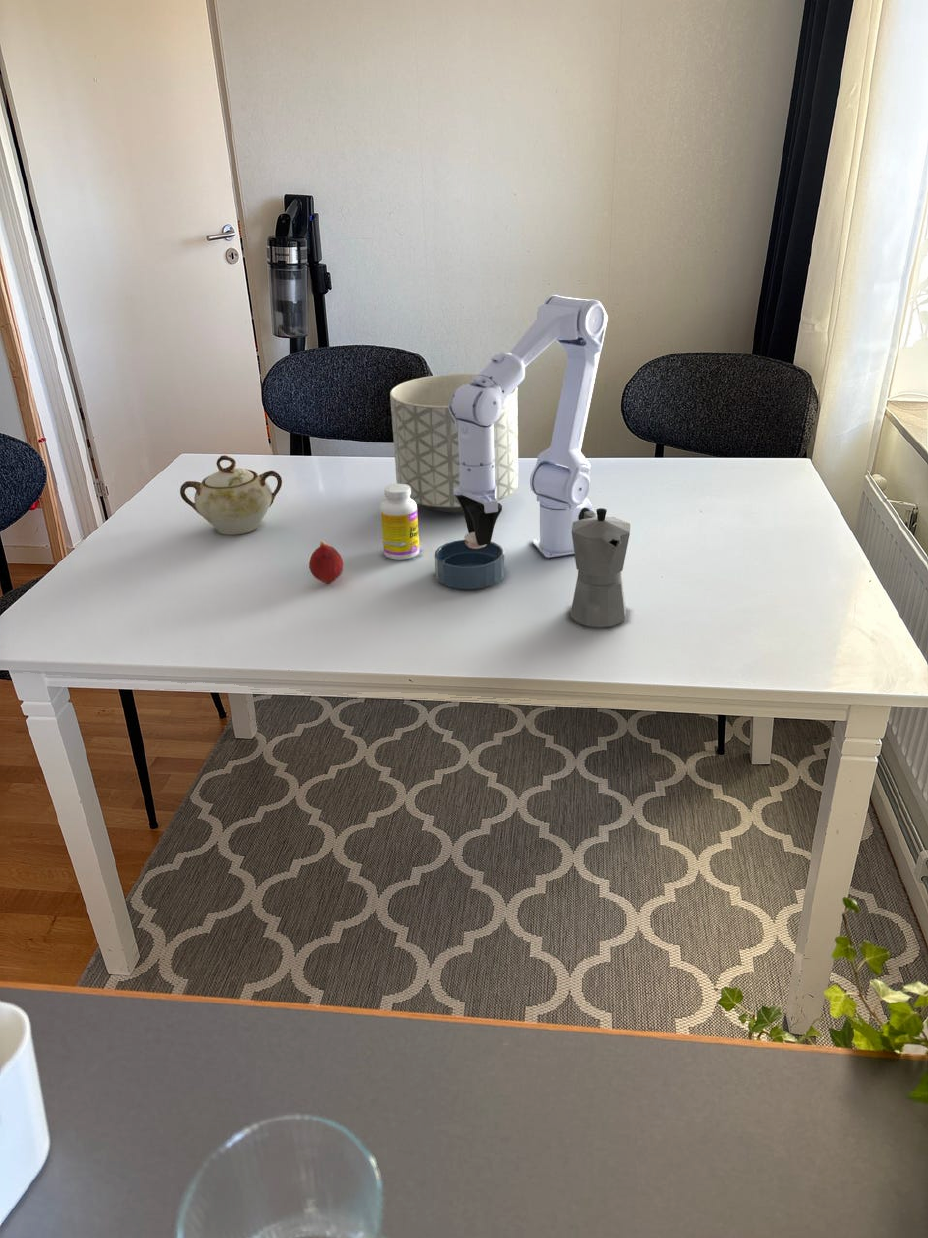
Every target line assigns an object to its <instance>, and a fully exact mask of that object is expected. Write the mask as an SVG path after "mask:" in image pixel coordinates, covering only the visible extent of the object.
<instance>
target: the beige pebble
mask: <svg viewBox="0 0 928 1238" xmlns="http://www.w3.org/2000/svg"><path fill="white" fill-rule="evenodd" d="M463 540H465V544H466V545H467V546H468V547H469V548H472V549H479V548H482V547H485V546H486V545H487V544H486V545H480V546H479V545H478V544H477V541H476V537H475V532H471V533H469V532H468V533H466V534H465V535H464V537H463Z"/></svg>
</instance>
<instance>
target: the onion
mask: <svg viewBox="0 0 928 1238" xmlns="http://www.w3.org/2000/svg"><path fill="white" fill-rule="evenodd" d="M343 559H344V558H343V556H342V555H341V554H340V552H339V551H337V549H336V548H335V547H333V546H330V545H328V544H327V543H326V542H325V541H324V540H320V544H319V546H318V547H317V548H316V549H315V550H314V551H313V552H312V554H311V555H310V558H309V562H308V568H309V571H310V573H311V575H312V576H313V577H314V578H315V579H317V580H318V581H320V582H321V583H323V584H325V585H330V584H332V583H333V582H334V581H336V580H337V579H338V578H339V577H340V576H341V575H342V574H343V571H344V560H343Z"/></svg>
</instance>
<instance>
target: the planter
mask: <svg viewBox="0 0 928 1238" xmlns="http://www.w3.org/2000/svg"><path fill="white" fill-rule="evenodd" d="M477 375H478V374H475V373H474V374H472V373H452V374H440V375H429V376H424V377H419V378H413V379H411V380H407V381H404V382H401V383H399V384H396V385H395V386H394V387H393V388H392V389H391V390H390V392H389V398H390V411H391V424H392V438H393V439H392V440H393V452H394V463H395V464H394V466H395V478H396V484H406V485H409V486H410V489H411V494H410V498H411V499H413V500H414V501H415V502H416V504H418V505H422V506H423V507H427V508H429V509H432V510H434V511H438V512H444V513H452V514H459V513H460V514H461V513H463V511H462V508H461V506H460V503H459V501H458V500H457V498H456V496H455V494H454V492H453V488H456V487H459V485H460V478H459V474H460V468H459V446H458V431H457V429H456V428H455V421H454V419H453V417H452V416H451V414H450V412H449V408H448V405H449V404H450V403H451V397H452V395H453V393H454V391H455V390H456V389H457V388H459V387H460V386H462V385H466V384H469V385H470V383H471V382H472V381H473V379H474V378H475V377H476V376H477ZM504 403H505V404H504V405H503V406H502V409H501V413H500V416H499V418H498V420H497V421H495V422H494V459H495V484H496V489H497V491H496V499H497V500H498V501H500V500H501V501H502V500H503V499H505V498H507V497H509V496H511V495H512V494H514V493H515V492H516V490H517V489H518V488H519V426H518V425H519V419H518V417H519V416H518V406H519V405H518V386H517V387H516V388H515V389H514V390H513V392H512V393H511V394H510V395H509V396H508V397H507V398H506V399H505V402H504Z"/></svg>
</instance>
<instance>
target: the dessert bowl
mask: <svg viewBox="0 0 928 1238" xmlns="http://www.w3.org/2000/svg"><path fill="white" fill-rule="evenodd" d="M505 567H506V566H505V549H504V548H503V547H502V546H501V545H500V544H499V543H496V542H494V541H491V543H490V544H487V545H486V546H485V547H482V548H479V549H472V548H469V547H468V546H467V545H466V544H465V539H459V540H454V541H453V540H452V541H451V542H447V543H444V544H443V545H441V546H439V547H438V548H437V549H436V550H435V551H434V571H435V573H434V574H435V578H436V579H437V581H438V582H439V583H441V584H442V585H444V586H446V587H451V588H453V589H458V590H477V589H484V588H487V587H489V586H492V585H493V586H494V585H495V584H497V583H498V582H500V581H502V579H503V578H504V576H505V575H506V574H505V573H506V571H505V569H506V568H505Z"/></svg>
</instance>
